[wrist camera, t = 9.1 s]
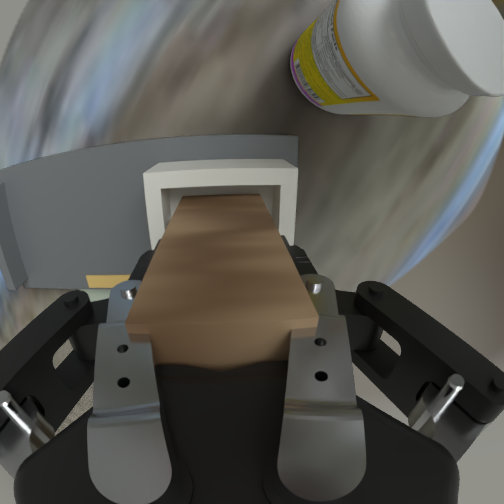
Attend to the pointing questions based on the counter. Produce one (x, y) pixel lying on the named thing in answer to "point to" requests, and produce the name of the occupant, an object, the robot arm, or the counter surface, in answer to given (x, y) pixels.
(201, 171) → the tab
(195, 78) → the counter surface
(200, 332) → the peg
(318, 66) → the supplement bottle
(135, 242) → the switch panel
